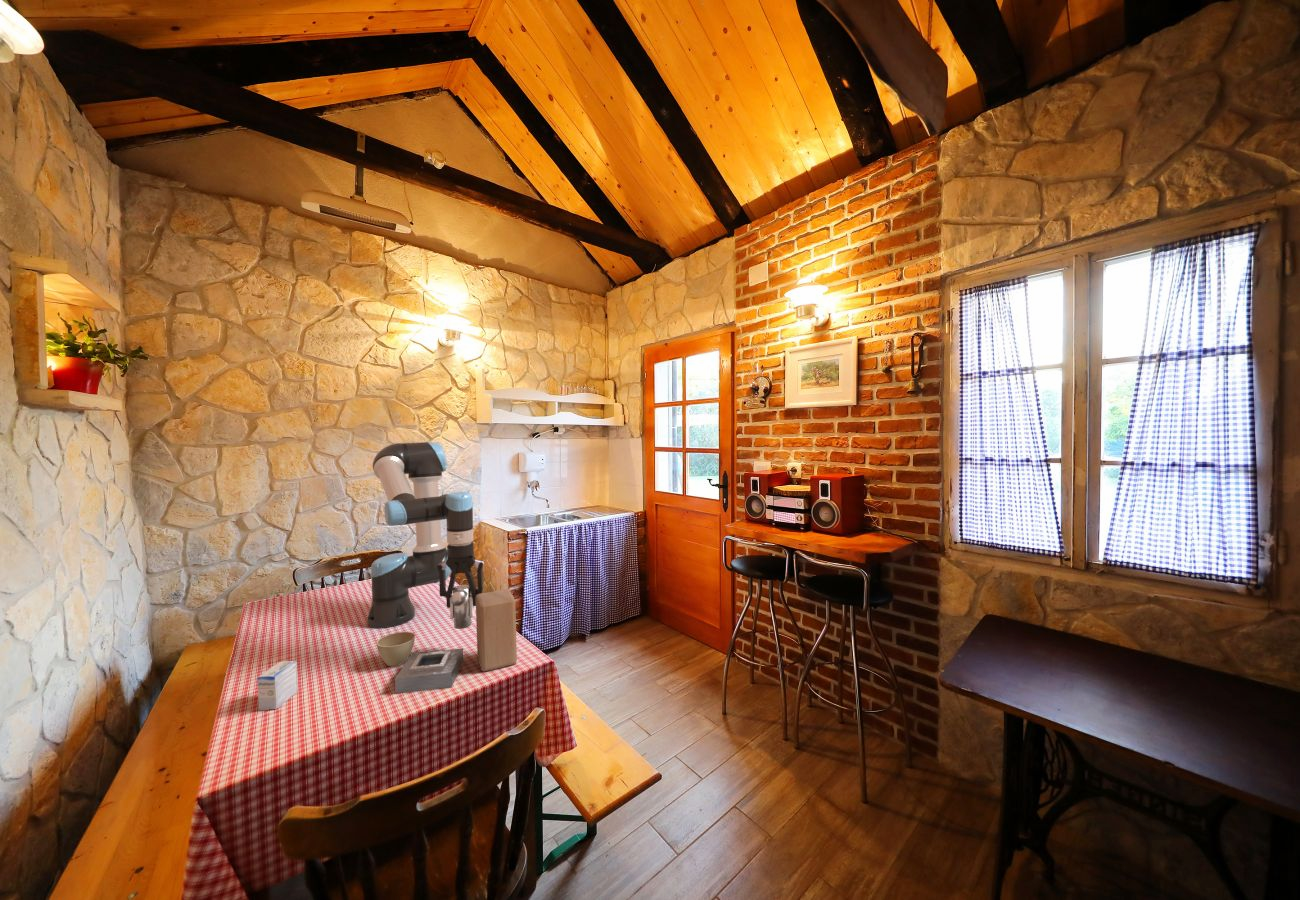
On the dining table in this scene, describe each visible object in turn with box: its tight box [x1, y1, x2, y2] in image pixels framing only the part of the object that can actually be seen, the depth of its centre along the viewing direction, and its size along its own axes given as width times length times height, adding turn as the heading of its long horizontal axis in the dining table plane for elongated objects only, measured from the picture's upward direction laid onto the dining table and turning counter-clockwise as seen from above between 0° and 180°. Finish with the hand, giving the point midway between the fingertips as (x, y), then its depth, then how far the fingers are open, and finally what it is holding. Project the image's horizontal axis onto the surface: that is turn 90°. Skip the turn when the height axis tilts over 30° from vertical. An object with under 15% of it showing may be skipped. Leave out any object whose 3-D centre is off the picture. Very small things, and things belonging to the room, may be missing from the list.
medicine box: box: [256, 660, 299, 711], centre depth 118 cm, size 8×4×9 cm, turn 5°
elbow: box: [450, 584, 472, 630], centre depth 141 cm, size 8×5×12 cm, turn 10°
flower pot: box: [376, 631, 416, 667], centre depth 137 cm, size 10×10×7 cm
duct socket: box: [394, 647, 464, 694], centre depth 129 cm, size 14×14×5 cm
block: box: [475, 588, 518, 672], centre depth 136 cm, size 10×10×20 cm
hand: (462, 616), depth 143 cm, fingers closed on elbow, 5 cm apart
